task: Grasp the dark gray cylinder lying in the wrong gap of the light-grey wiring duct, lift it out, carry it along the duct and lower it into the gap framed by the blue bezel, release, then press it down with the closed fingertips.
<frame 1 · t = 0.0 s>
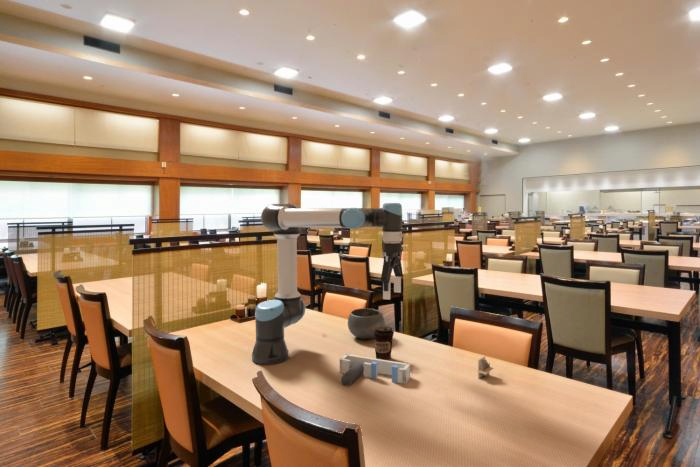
hand: (392, 295, 158), 28 cm above the table, fingers open, 13 cm apart
duct: (374, 374, 150), on the table
coffee cup: (383, 359, 166), on the table
bowl: (366, 337, 193), on the table
architectural model: (483, 378, 148), on the table
dark gray cylinder: (352, 379, 146), on the table
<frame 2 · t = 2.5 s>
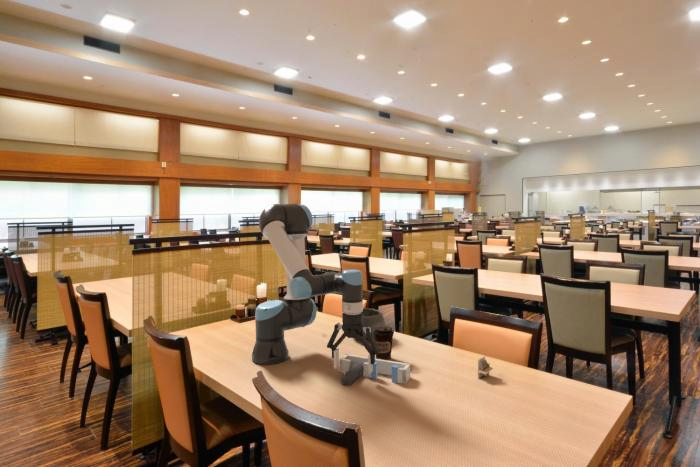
hand: (353, 369, 146), 3 cm above the table, fingers open, 13 cm apart
nothing on the table moved.
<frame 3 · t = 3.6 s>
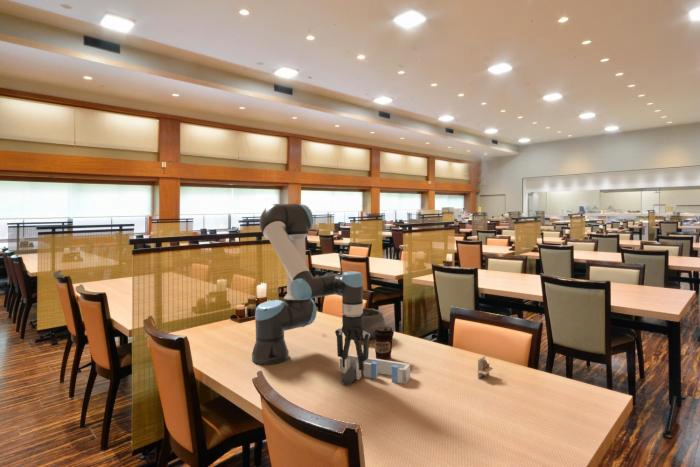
hand: (352, 376, 146), 1 cm above the table, fingers closed on dark gray cylinder, 4 cm apart
dark gray cylinder: (353, 378, 146), on the table, touching gripper
everything else where it was.
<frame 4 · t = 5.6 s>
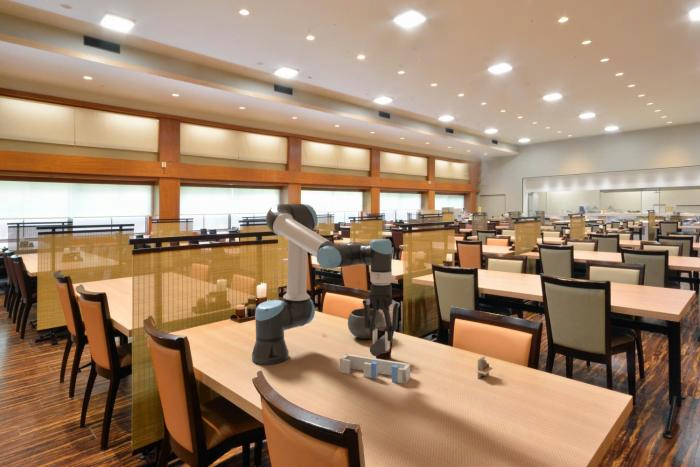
hand: (381, 348, 141), 13 cm above the table, fingers closed on dark gray cylinder, 4 cm apart
dark gray cylinder: (381, 350, 141), point 12 cm above the table, touching gripper
everything else where it was.
when the fingers open (2 cm above the table, at t = 7.6 s): dark gray cylinder drops 2 cm, on the table.
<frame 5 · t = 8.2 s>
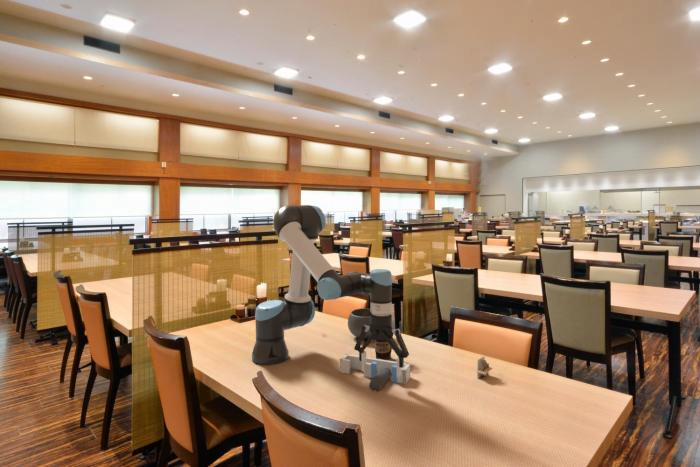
hand: (381, 372, 142), 4 cm above the table, fingers open, 12 cm apart
dark gray cylinder: (381, 384, 142), on the table, tilted 5°
everything else where it was.
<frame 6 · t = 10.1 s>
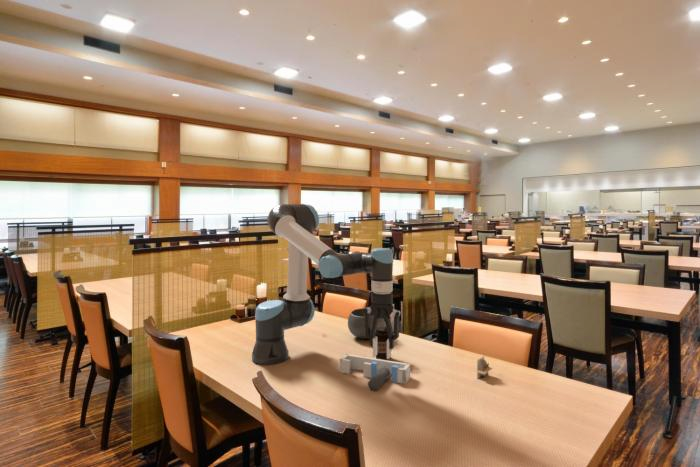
hand: (381, 356, 142), 10 cm above the table, fingers open, 4 cm apart
dark gray cylinder: (381, 384, 142), on the table, tilted 22°
everything else where it was.
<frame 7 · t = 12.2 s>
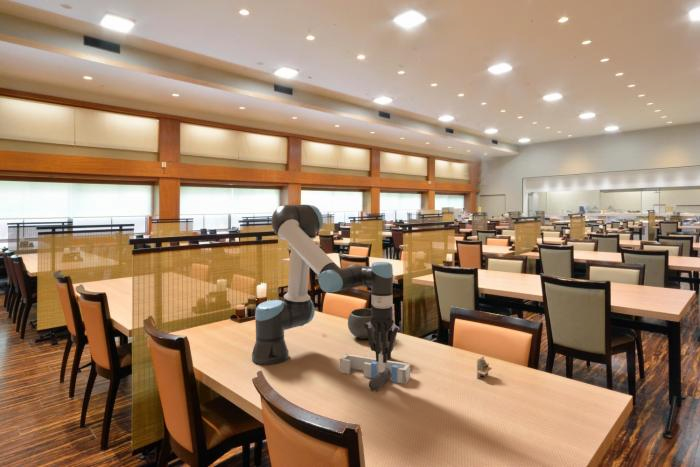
hand: (381, 370, 143), 4 cm above the table, fingers closed
dark gray cylinder: (381, 384, 142), on the table, tilted 15°
everything else where it was.
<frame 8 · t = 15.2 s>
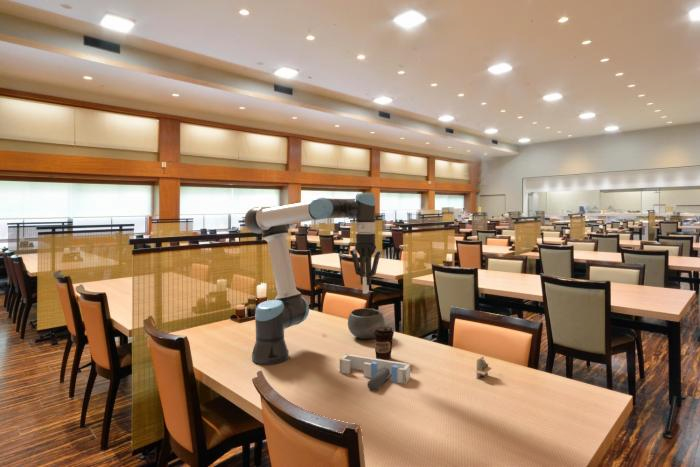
hand: (365, 292, 156), 29 cm above the table, fingers closed
dark gray cylinder: (381, 384, 142), on the table, tilted 25°
everything else where it was.
at the end: dark gray cylinder 1.3 cm from the target spot on the table beside the duct, on the table; the gripper is holding nothing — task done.
